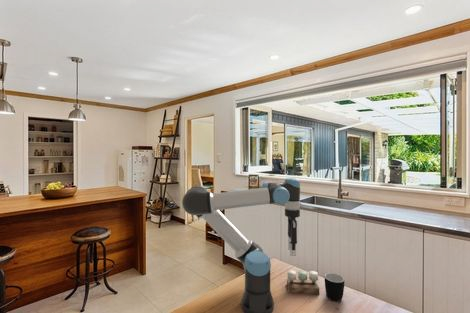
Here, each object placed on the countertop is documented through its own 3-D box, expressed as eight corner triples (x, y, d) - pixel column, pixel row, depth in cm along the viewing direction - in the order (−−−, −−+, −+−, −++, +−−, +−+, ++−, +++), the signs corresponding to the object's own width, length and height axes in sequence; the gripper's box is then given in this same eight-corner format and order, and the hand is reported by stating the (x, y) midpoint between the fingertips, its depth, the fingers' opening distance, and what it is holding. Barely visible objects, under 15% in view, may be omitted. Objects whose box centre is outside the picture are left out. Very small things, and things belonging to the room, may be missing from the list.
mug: (346, 304, 116) (347, 283, 116) (326, 302, 118) (327, 281, 117) (339, 290, 128) (339, 270, 128) (321, 288, 129) (321, 269, 129)
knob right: (310, 285, 126) (310, 275, 126) (308, 280, 131) (308, 270, 131) (318, 285, 126) (319, 275, 126) (316, 281, 130) (316, 271, 130)
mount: (288, 293, 125) (289, 287, 125) (286, 284, 133) (286, 278, 133) (319, 294, 124) (319, 288, 124) (315, 285, 132) (315, 280, 132)
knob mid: (299, 285, 127) (299, 274, 127) (297, 280, 131) (297, 270, 131) (307, 285, 126) (307, 274, 126) (306, 280, 131) (306, 270, 131)
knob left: (288, 284, 127) (288, 274, 127) (286, 280, 132) (287, 270, 131) (296, 285, 127) (296, 274, 127) (295, 280, 131) (295, 270, 131)
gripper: (303, 213, 118) (303, 261, 119) (296, 204, 138) (296, 245, 138) (287, 213, 119) (287, 260, 119) (282, 204, 138) (282, 245, 139)
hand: (292, 252), depth 129 cm, fingers open, 7 cm apart
